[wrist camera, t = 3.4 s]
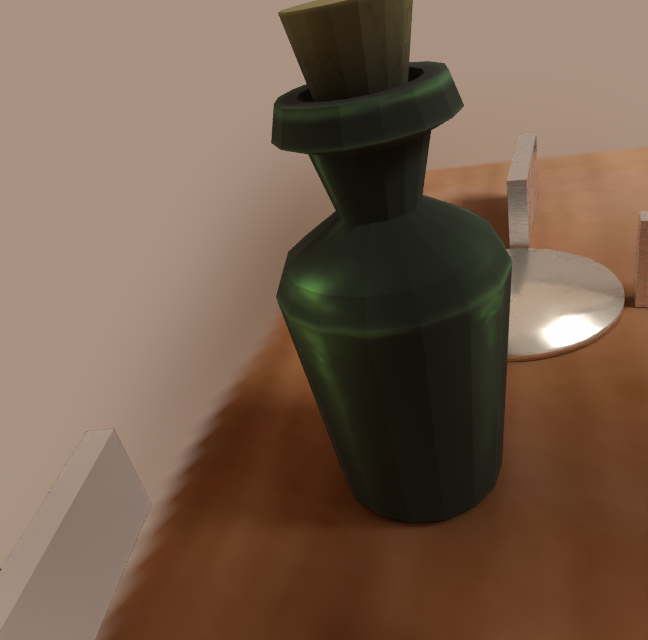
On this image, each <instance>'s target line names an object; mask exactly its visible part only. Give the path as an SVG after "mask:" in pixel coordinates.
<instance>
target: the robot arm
mask: <svg viewBox="0 0 648 640" xmlns="http://www.w3.org/2000/svg"><path fill="white" fill-rule="evenodd" d="M150 507H151V502H150V500H149V498H148V496H147V494H146V492H145V490H144V488H143V486H142V484H141V482H140V480H139V478H138V476H137V474H136V472H135V470H134V468H133V466H132V464H131V462H130V460H129V458H128V456H127V454H126V452H125V450H124V448H123V446H122V444H121V442H120V440H119V438H118V436H117V434H116V432H115V430H114V429H106V430H96V431H87V432H86V433H85V434H84V436H83V438H82V439H81V441H80V443H79V444H78V446H77V448H76V449H75V451H74V452H73V454H72V456H71V457H70V459H69V460H68V462H67V464H66V465H65V467H64V469H63V470H62V472H61V473H60V475H59V477H58V478H57V480H56V482H55V483H54V485H53V486H52V488H51V490H50V491H49V493H48V494H47V496H46V498H45V499H44V501H43V503H42V504H41V506H40V507H39V509H38V511H37V512H36V514H35V516H34V517H33V519H32V521H31V522H30V524H29V525H28V527H27V528H26V530H25V532H24V533H23V535H22V537H21V538H20V540H19V541H18V543H17V545H16V546H15V548H14V550H13V551H12V553H11V554H10V556H9V558H8V559H7V561H6V563H5V565H4V566H3V567H2V569H0V640H95V638H96V636H97V634H98V631H99V629H100V626H101V624H102V622H103V619H104V617H105V615H106V612H107V610H108V607H109V605H110V603H111V600H112V598H113V595H114V593H115V591H116V588H117V586H118V583H119V581H120V579H121V576H122V574H123V571H124V569H125V567H126V564H127V562H128V559H129V557H130V555H131V552H132V550H133V547H134V545H135V543H136V540H137V538H138V535H139V533H140V531H141V528H142V526H143V523H144V521H145V519H146V516H147V514H148V511H149V509H150Z"/></svg>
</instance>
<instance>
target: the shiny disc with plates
mask: <svg viewBox="0 0 648 640" xmlns="http://www.w3.org/2000/svg"><path fill="white" fill-rule="evenodd" d="M536 139H537V136H536V133H528V134H520V135H519V139H518V143H517V146H516V150H515V153H514V157H513V160H512V164H511V167H510V171H509V174H508V178H507V198H508V218H509V238H510V249H507V251H508V253H509V255H510V258H511V260H512V278H511V297H510V316H509V335H508V354H507V362H514V361H529V360H537V359H544V358H549V357H554V356H559V355H562V354H565V353H569V352H572V351H575V350H577V349H580V348H583V347H585V346H587V345H589V344H591V343H593V342H595V341H597V340H598V339H600V338H601V337H603V336H604V335H606V334H607V333H608V332H609V331H610V330H611V329H612V328H613V327H614V326H615V325H616V324H617V322H618V321H619V320H620V318H621V315H622V313H623V309H624V299H625V295H624V289H623V286H622V284H621V282H620V281H619V279H618V278H617V277H616V275H614V274H613V273H612V272H611V271H610V270H609V269H607V268H606V267H604V266H603V265H601V264H599V263H597V262H595V261H593V260H590V259H588V258H585V257H582V256H579V255H575V254H572V253H567V252H562V251H556V250H549V249H536V248H530V242H531V235H532V229H533V223H534V217H535V210H536V204H537V198H538V178H537V140H536ZM634 303H635V307H648V211H639V222H638V237H637V252H636V267H635V282H634Z"/></svg>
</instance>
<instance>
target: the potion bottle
mask: <svg viewBox="0 0 648 640" xmlns="http://www.w3.org/2000/svg"><path fill="white" fill-rule="evenodd" d="M412 4H413V0H317V1H312V2H309V3H305V4H302V5H298V6H294V7H291V8H288V9H285V10H281V11H280V12H278V14H279V16H280V19H281V21H282V24H283V26H284V28H285V31H286V34H287V36H288V39H289V41H290V44H291V46H292V48H293V51H294V53H295V56H296V58H297V61H298V63H299V66H300V68H301V71H302V73H303V75H304V78H305V80H306V83H307V84H306V85H303V86H301V87H298V88H296V89H293V90H291V91H289V92H287V93H285V94H284V95H282V96H280V97H278V99H277V100H276V102H275V103H274V111H273V127H272V140H271V141H272V142H271V143H272V144H274V145H275V146H276V147H278V148H279V149H281V150H285V151H291V152H297V153H304V154H308V155H309V157H310V159H311V161H312V163H313V165H314V167H315V169H316V171H317V173H318V175H319V177H320V179H321V181H322V183H323V185H324V187H325V189H326V191H327V193H328V196H329V198H330V200H331V201H332V204H333V206H334V208H335V210H336V211H335V212H334V213H333V214H332V215H330V216H329V217H328V218H327V219H325V220H324V221H323V222H322V223H320V224H319V225H318V226H317V227H316V228H314V229H313V230H312V231H311V232H309V233H308V234H307V235H306V236H305V237H304V238H303V239H302V240H300V241H299V242H298V243H297V244H296V245H295V246H294V247H293V248H292V249H291V250H290V251H289V252H288V255H287V259H286V262H285V266H284V269H283V273H282V277H281V280H280V284H279V288H278V291H277V295H276V298H277V301H278V304H279V306H280V309H281V311H282V314H283V317H284V319H285V322H286V324H287V327H288V330H289V332H290V335H291V337H292V340H293V343H294V345H295V348H296V351H297V353H298V356H299V358H300V361H301V364H302V366H303V369H304V371H305V374H306V377H307V379H308V382H309V384H310V387H311V390H312V392H313V395H314V397H315V400H316V403H317V405H318V408H319V410H320V413H321V416H322V418H323V421H324V423H325V426H326V429H327V431H328V434H329V436H330V439H331V442H332V444H333V447H334V449H335V452H336V455H337V457H338V460H339V462H340V465H341V468H342V470H343V473H344V476H345V478H346V480H347V482H348V484H349V486H350V488H351V490H352V491H353V493H354V495H355V497H356V499H357V500H358V501H360V502H361V503H362V504H364V505H365V506H367V507H368V508H370V509H371V510H372V511H374V512H375V513H377V514H378V515H380V516H384V517H388V518H392V519H396V520H401V521H405V522H409V523H419V522H431V521H443V520H446V519H448V518H450V517H453V516H455V515H457V514H459V513H462V512H464V511H466V510H469V509H471V508H473V507H475V506H476V505H477V504H478V503H479V502H480V501H481V500H482V499H483V498H484V497H485V496H486V495H487V494H488V493H489V492H490V491H491V490H492V489H493V488H494V487H495V484H496V481H497V477H498V474H499V471H500V468H501V464H502V450H503V430H504V411H505V392H506V373H507V354H508V335H509V316H510V297H511V278H512V260H511V258H510V255H509V253H508V251H507V249H506V247H505V245H504V243H503V241H502V240H501V238H500V237H499V235H498V234H497V233H496V231H495V230H494V228H493V227H492V226H491V224H490V223H489V221H488V220H487V219H485V218H483V217H481V216H479V215H477V214H475V213H473V212H472V211H470V210H468V209H465V208H462V207H459V206H456V205H453V204H450V203H447V202H444V201H441V200H438V199H435V198H432V197H428V196H425V195H422V194H423V186H424V179H425V171H426V164H427V157H428V149H429V141H430V134H431V130H432V129H434V128H436V127H437V126H439V125H441V124H443V123H444V122H446V121H447V120H449V119H451V118H453V117H454V116H455V114H457V113H458V112H459V111H460V110H461V109H462V107H463V106H464V104H463V102H462V100H461V97H460V95H459V93H458V90H457V88H456V86H455V83H454V81H453V79H452V76H451V74H450V72H449V69H448V68H447V66H446V65H445V64H444V63H438V62H429V61H425V62H409V54H410V37H411V21H412Z"/></svg>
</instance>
